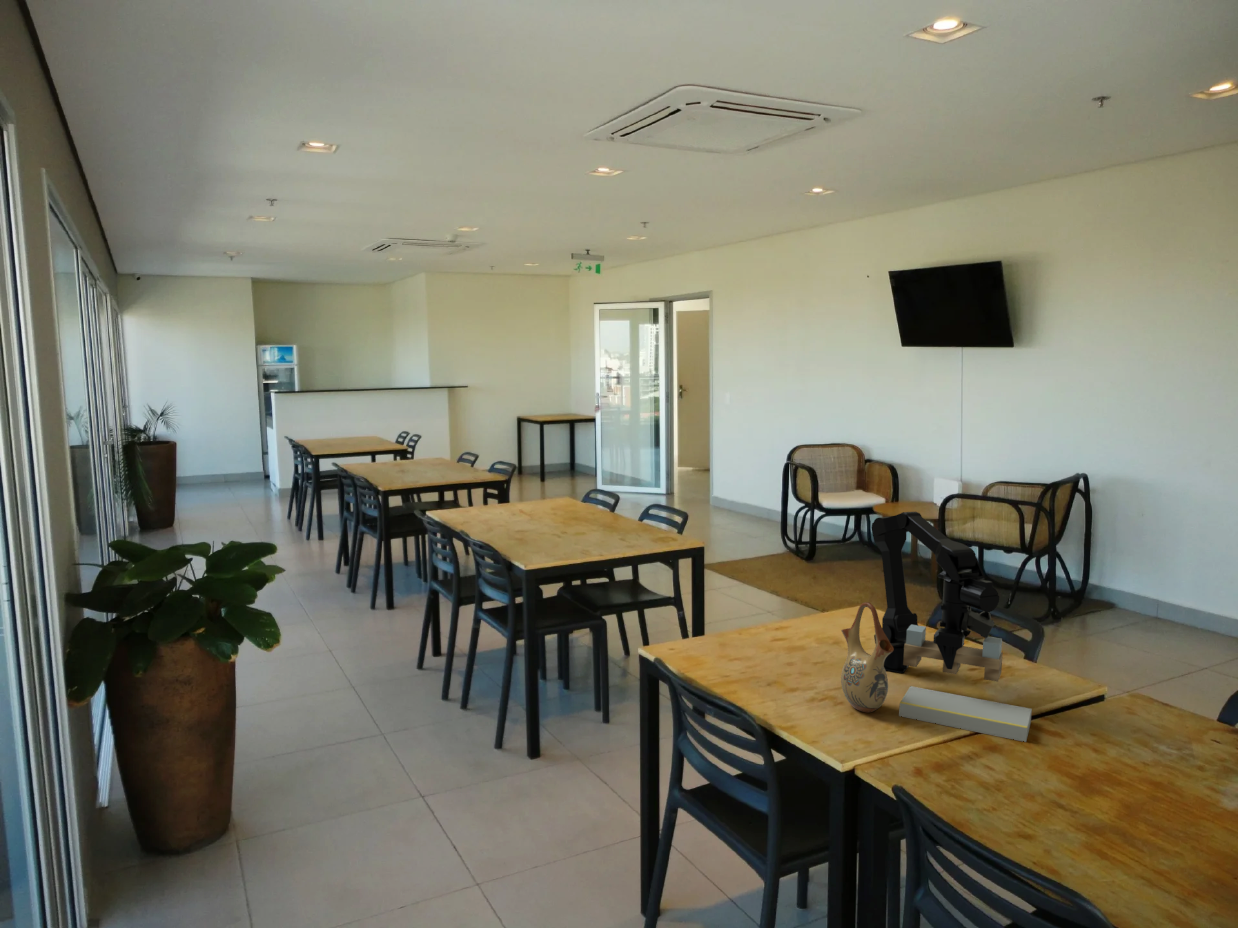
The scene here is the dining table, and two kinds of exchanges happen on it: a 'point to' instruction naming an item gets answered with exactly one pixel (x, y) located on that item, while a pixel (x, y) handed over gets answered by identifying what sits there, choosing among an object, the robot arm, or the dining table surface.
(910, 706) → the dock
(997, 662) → the pallet
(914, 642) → the grey small block
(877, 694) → the ceramic vessel
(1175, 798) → the dining table surface
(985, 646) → the block
